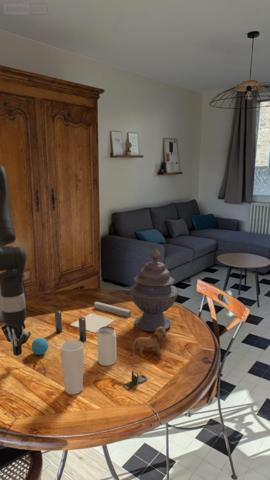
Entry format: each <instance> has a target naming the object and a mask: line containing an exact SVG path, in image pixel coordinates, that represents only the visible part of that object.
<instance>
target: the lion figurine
mask: <svg viewBox="0 0 270 480" xmlns="http://www.w3.org/2000/svg"><path fill="white" fill-rule="evenodd" d="M166 330H167V329H166ZM166 330H165V328H164V327H159V328H157V329H156V332H153V335H151V336H146V337H145V336H140V337H139V336H138V337H137V338H136V339H135V340H134V342H133V346H132V349H131V350H132V352H131V353H130V356H129V357H133V355H136V354H137V352H136V351H135V350H137V348H138V349H139V352H138V353H139V355H140V356H141V357H142V358H145V357H146V355H145V354H143V351H144V347H148V348H150V347H151V348H152V351H155V352H156V354H158V355H160V354H161V351H160V348H161V347H160V345H162V344H163V343H164V342H165V339H166V336H167V331H166Z"/></svg>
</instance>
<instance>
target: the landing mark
mask: <svg viewBox="0 0 270 480" xmlns="http://www.w3.org/2000/svg"><path fill="white" fill-rule="evenodd" d="M84 318H85V320H86V332H90V333H94V334H96V333H98V330H99V328H101V327H104V326H109V325H110V324H112V323H114V322H116V320H115V319H112V318H109V317H106V316H102V315H98V314H95V313H91V312H90V313H89V314H87V315H85V316H84ZM70 326H72V327H75V328H78V329H79V319H78V320H76V321H74V322H72V323H71V324H70Z"/></svg>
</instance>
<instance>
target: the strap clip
mask: <svg viewBox="0 0 270 480" xmlns="http://www.w3.org/2000/svg"><path fill="white" fill-rule="evenodd" d="M148 379H149V378H148V377H147V376H145V375H144V374H139V373H138V372H137V371H136V370H134V369H133V370H132V371H131V379H130V380H131V381H129V382H126V383H124V384H122V387H123V388H124V389H125V390H127V391H129V390H132V389H134V388H135V387H136V386H137V385H138V384H140V385H141V384H143V383H144V382H147V381H148ZM126 386H127V387H126Z"/></svg>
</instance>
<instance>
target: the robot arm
mask: <svg viewBox="0 0 270 480" xmlns="http://www.w3.org/2000/svg"><path fill="white" fill-rule="evenodd" d="M11 211H12V209H11V198H10V190H9V181H8V176H7V172H6V169H5V168H4V166H3V165H2V164H0V322H2V323H4V324H5V325H2V326H1V327H0V329H1V331H2V333H3V335H4V336H5V338H6V340H7V342H8V343H10V344H11V346H12V352H13V355H14V356H16V357H18V356H20V355H22V353H23V349H22V346H23V345H25V344H26V343H27V341H28V340H29V338H30V337H31V335H32V333H31V331H27V329H26V324H25V321H26V319H27V309H26V308H27V307H26V297H25V292H24V281H23V279H24V273H25V269H26V265H27V260H28V259H27V252H26V250H25V249H24V248H23V247H21V246H15V247H14V246H13V245H10V244H13V243H14V242H15V241H16V239H17V237H16V230H15V227H14V226H15V225H14V223H13V217H12V212H11Z"/></svg>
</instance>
